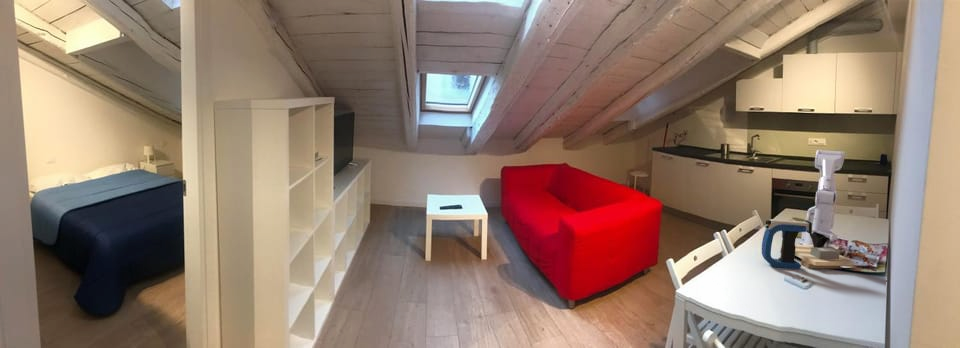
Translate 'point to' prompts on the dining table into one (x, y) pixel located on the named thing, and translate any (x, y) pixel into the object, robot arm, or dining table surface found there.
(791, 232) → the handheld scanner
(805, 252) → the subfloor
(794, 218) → the mug
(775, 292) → the dining table surface
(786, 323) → the dining table surface
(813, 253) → the block
